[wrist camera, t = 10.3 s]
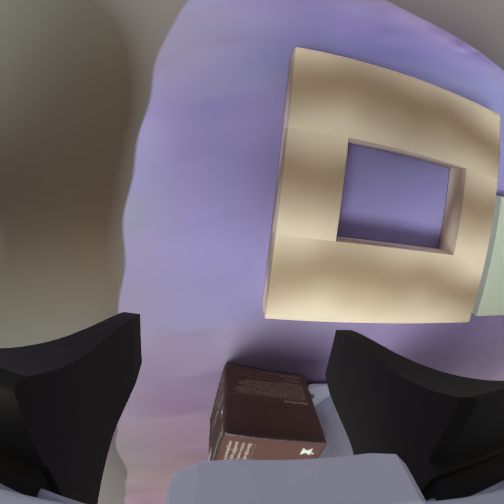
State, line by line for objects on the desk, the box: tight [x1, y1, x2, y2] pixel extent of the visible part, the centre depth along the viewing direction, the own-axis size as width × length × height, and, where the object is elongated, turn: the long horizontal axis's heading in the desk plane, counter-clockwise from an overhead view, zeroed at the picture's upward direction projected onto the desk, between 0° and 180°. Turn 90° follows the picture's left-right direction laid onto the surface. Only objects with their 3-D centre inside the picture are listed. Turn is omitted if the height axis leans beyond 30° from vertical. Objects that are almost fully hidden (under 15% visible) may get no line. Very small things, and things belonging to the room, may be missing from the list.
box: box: [208, 364, 327, 461], centre depth 19 cm, size 6×6×7 cm
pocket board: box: [262, 47, 500, 323], centre depth 19 cm, size 16×16×2 cm
